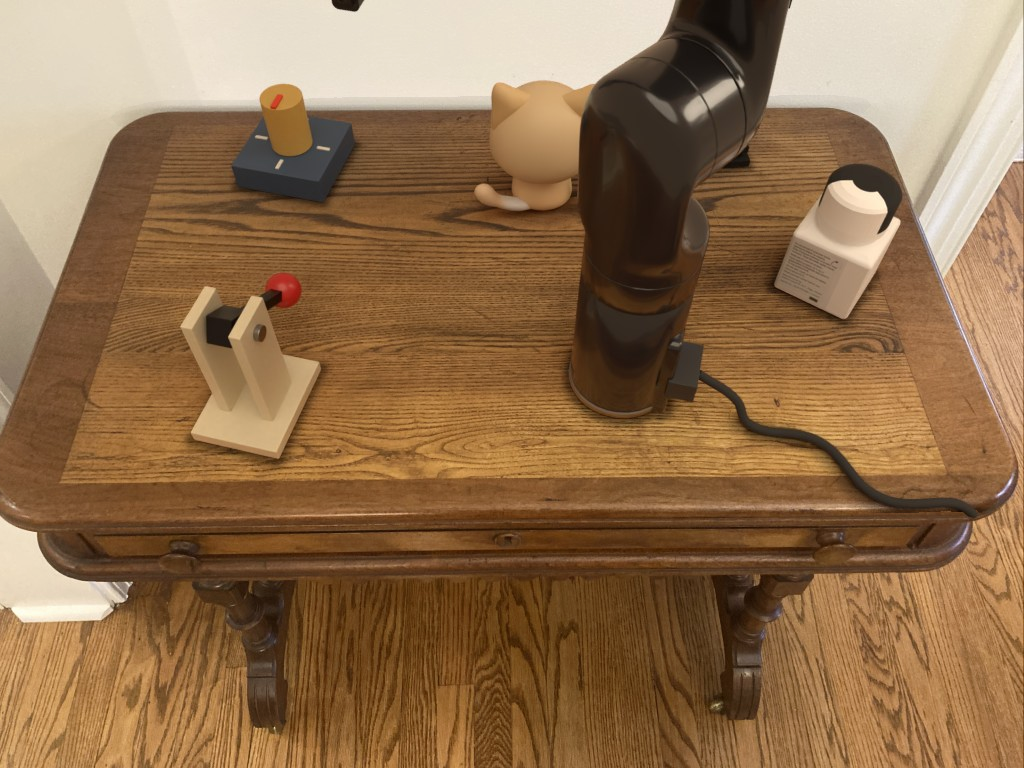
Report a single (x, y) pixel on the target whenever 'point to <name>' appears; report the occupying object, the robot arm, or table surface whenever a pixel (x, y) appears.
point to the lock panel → (295, 161)
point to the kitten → (535, 143)
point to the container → (842, 239)
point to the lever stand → (247, 380)
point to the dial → (286, 119)
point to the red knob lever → (220, 322)
